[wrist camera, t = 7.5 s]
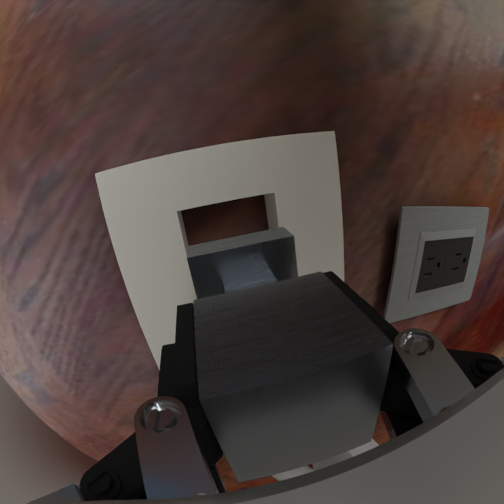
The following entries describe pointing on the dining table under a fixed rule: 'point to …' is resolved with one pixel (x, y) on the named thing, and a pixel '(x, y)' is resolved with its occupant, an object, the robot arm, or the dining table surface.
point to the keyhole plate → (210, 192)
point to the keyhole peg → (281, 356)
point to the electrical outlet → (434, 259)
